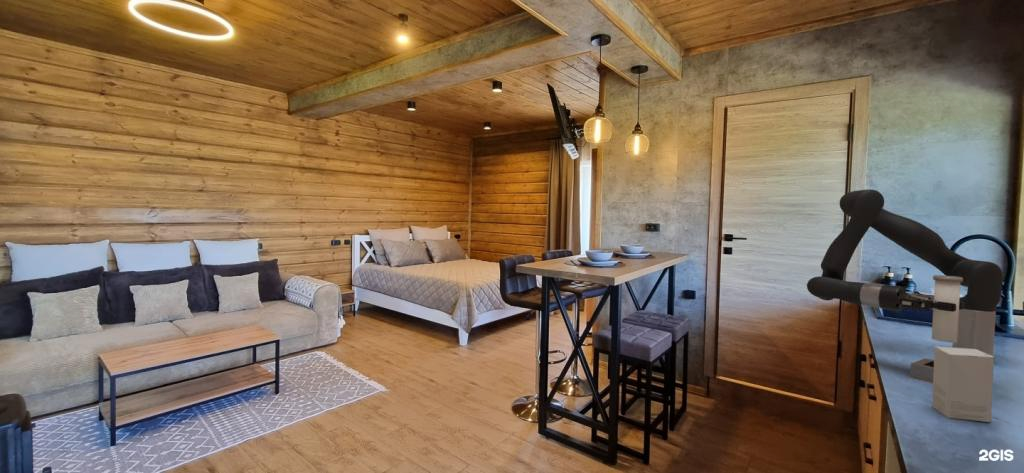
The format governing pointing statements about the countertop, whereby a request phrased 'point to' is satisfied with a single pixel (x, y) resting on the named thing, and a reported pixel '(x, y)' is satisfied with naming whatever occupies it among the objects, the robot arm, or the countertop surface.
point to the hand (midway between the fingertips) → (959, 306)
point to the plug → (944, 320)
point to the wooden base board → (922, 370)
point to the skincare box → (963, 383)
